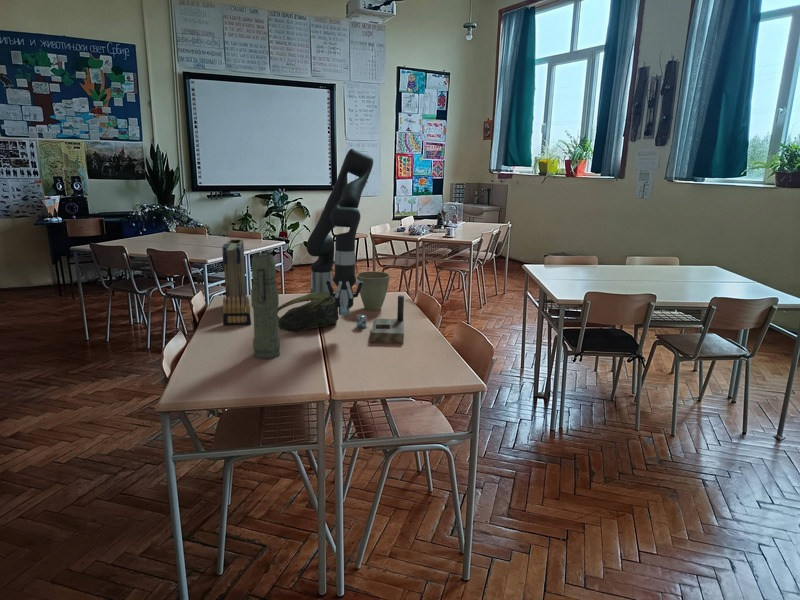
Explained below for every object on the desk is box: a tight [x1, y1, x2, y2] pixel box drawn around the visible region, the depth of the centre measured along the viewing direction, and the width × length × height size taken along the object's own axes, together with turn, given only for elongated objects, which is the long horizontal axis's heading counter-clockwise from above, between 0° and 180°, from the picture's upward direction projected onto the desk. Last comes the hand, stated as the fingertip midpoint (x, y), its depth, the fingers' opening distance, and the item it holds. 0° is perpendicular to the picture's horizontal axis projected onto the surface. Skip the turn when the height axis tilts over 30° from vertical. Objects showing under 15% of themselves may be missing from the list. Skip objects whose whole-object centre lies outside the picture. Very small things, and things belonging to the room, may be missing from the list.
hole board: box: [370, 294, 405, 345], centre depth 203 cm, size 12×18×14 cm, turn 0°
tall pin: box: [338, 289, 351, 317], centre depth 197 cm, size 4×4×10 cm
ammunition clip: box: [222, 295, 252, 327], centre depth 210 cm, size 11×2×12 cm, turn 99°
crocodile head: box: [277, 292, 340, 333], centre depth 211 cm, size 27×17×15 cm
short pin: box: [356, 314, 368, 330], centre depth 212 cm, size 4×4×5 cm
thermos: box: [250, 252, 281, 360], centre depth 177 cm, size 9×12×35 cm
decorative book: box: [221, 239, 247, 312], centre depth 229 cm, size 23×7×30 cm, turn 12°
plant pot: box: [356, 270, 391, 311], centre depth 238 cm, size 15×15×16 cm
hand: (344, 307), depth 197 cm, fingers closed on tall pin, 4 cm apart
